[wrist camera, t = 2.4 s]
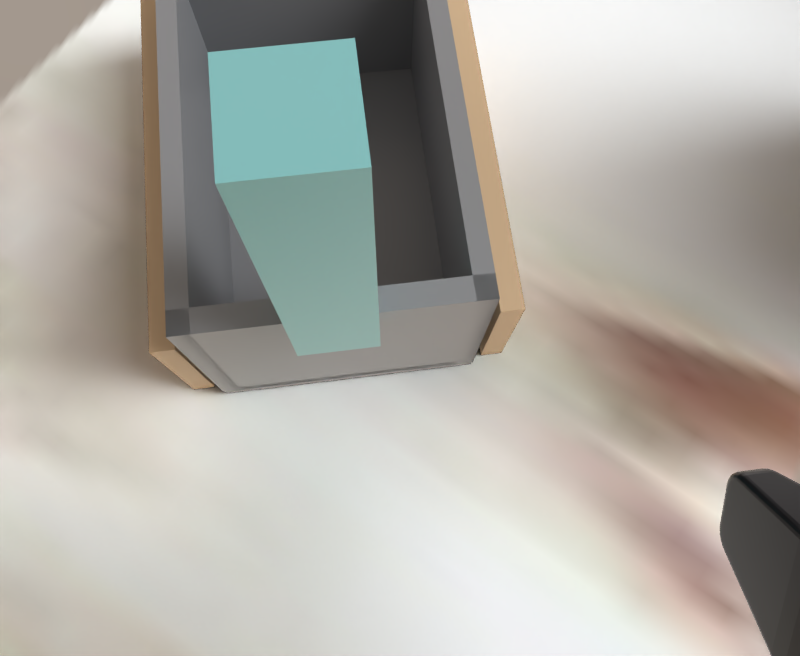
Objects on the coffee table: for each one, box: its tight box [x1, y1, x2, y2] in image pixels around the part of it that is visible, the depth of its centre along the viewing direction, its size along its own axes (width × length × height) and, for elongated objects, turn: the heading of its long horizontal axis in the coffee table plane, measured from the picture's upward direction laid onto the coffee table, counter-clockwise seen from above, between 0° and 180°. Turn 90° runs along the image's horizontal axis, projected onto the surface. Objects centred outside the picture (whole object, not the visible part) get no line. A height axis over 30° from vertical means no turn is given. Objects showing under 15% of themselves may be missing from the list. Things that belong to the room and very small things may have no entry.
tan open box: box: [141, 0, 525, 389], centre depth 21 cm, size 11×9×4 cm
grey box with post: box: [155, 0, 500, 393], centre depth 16 cm, size 11×7×13 cm, turn 7°
